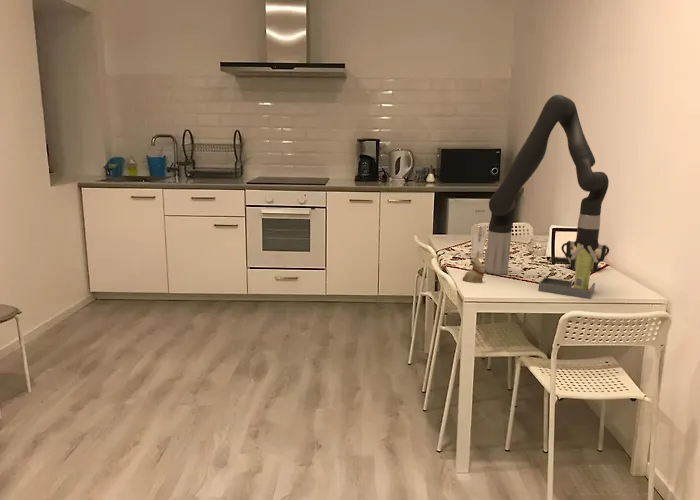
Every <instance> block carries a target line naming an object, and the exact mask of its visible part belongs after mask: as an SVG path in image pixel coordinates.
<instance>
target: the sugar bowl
mask: <svg viewBox="0 0 700 500" xmlns="http://www.w3.org/2000/svg"><path fill="white" fill-rule="evenodd" d="M565 246H567V242H565V243H563V244H562V245H561V251H562V253H563V255H564V256H565V258H566V259H567V260H568V262H569V263H570V265H571V259H570V258H569V257H566V251H565V249H564V248H565ZM575 252H576V246H575V245H574V244H573V246H572V247H571V254H572V255H573V254H574V253H575ZM595 252H596V254H597V257H598V258H600V257H601V252H602V251H600V248H599V247H598V248H597V249H596V250H595ZM609 253H610V247H609V246H607V248H606V253H605V257H607V256H608V254H609ZM575 259H576V257H575ZM594 262H595V261H594V259H593V263H592V268H591V271H593V265H594ZM600 263H601V262H598V265H599V264H600ZM575 269H576V262H575ZM575 269H574V270H575Z"/></svg>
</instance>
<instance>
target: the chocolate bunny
mask: <svg viewBox="0 0 700 500" xmlns="http://www.w3.org/2000/svg"><path fill="white" fill-rule="evenodd" d="M469 262H470V263H471V265H472V269H470V270H468V271H466V273H465V274H464V276H462V281H464V282H467V283H473V284H474V283H476V284H477V283H478V284H479V283H480V284H481V283H483V281H484V280H483V279H484V276H485V275H484V274H485V273H486V272H485V271H486V267H485V266H484V263H482V262H481V261H480V259H478V258H477V257H474V258H471V259H470V260H469Z"/></svg>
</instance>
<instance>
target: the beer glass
mask: <svg viewBox="0 0 700 500" xmlns="http://www.w3.org/2000/svg"><path fill="white" fill-rule="evenodd" d="M486 240H487V225H486V224H482V223H472V224H471V229H470V246H471V247H470V248H471V250H470V255H469V258H471V259H473V258H474V257H477V258H478V259H479V260H482V259H485V255H484V248H485V244H486Z"/></svg>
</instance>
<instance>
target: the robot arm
mask: <svg viewBox="0 0 700 500" xmlns="http://www.w3.org/2000/svg"><path fill="white" fill-rule="evenodd" d="M557 123H559V125H560V126H561V128H562V129H563V131H564V133H565V136H566V140H567V147H568V152H569V155H570V157H571V160H572V162H573V164H574V166H575V171H576V181H577V183H578V186H579V187H580V189H581V190H582V191H584V192H588V193H589V194H588V195H587V196H586V197H584V198H582V199H581V202H580V207H579V216H578V218H577V219H578V221H577V229H576V239H575V240H574V241H572V240H568V241H567V242H566V243H567V245H565V246H566V248H565V249H566V251H565V253H566V256H565V258H566V257H569V258H570V259H571V264H570V268H571V270H575V262H576V259H575V257H576V256H577V255H578V253H579V252H580V251H581V250H582V248H585V249H586V251H587V252H588V253H589V254H591V256H592V257H593V259H594V261H595V262H594V265H593V270H592V272H593V273H595V272H597V271H598V269H599V264H598V262H600V263H602V262H604V260H605V257H606V256H605V253H606V252H607V249H606V248H607V247H608V245H606V244H600V243H599V235H600V228H601V212H602V204H603V201H604V199H605V198H606V194H607V192H608V189H609V184H610V183H609V177H608V175H607V173H606V172H603V171H593V170H592V167H594V166H595V164H596V158H595V157H594V154H593V152H592V149H591V147H590V146H589V143H588V141H587V139H586V137H585V134H584V131H583V128H582V125H581V121H580V118H579V113H578V109H577V107H576V104H575V102H574V101H573V100H572V99H570V98H568V97H566V96H564V95H562V94H554V95H552V96H551V97H550V98H549V99H548V100H547V101H546V102H545V104H544V106H543V107H542V110H541V111H540V113H539V116H538V118H537V120H536V123H535V124H534V126H533V128H532V130H531V131H530V133H529V134H528V137H527V138H526V139H525V142H524V143H523V145H522V147H520V149H519V151H518V152H517V154H516V156H515V158H514V159H513V160H514V161H513V162H512V164H511V166H510V167H509V169H508V171H507V174H506V176H505V178H504V179H503V181H502V182H501V184H500V185H499V186H498V188H497V190H496V191H494V193H493V194H492V196H491V197H490V199H489V201H488V209H489V211H490V212H491V216H490V221H489V223H488V230H487V231H488V232H487V244H486V248H485V253H484V263H483V265H484V266H485V267H486V271H485V273H489V274H494V275H507V274H508V273H509V264H510V253H511V252H510V251H511V241H512V230H513V225H514V220H515V211H516V197H517V195H518V193H519V192H520V191H521V189H522V188H523V186H524V185H525V184H526V183H527V182H528V181H529V179H530V178H531V177H532V175H533V174H534V173H535V172H536V171H537V169H538V167H539V166H540V164H541V162H542V161H543V159H544V158H545V155H546V152H547V149H548V143H549V138H550V135H551V133H552V131H553V130H554V128H555V126H556V125H557ZM578 243H579V244H581V245H580V247H579V248H578V249H577V250H576V252H575V253H574V254H573V255H572V254H571V247H572V246H573V244H574V245H575V246H576V248H577V244H578ZM598 247H599V248H600V251H602V252H601V257H600V258H598V257H597V254H596V252H595V253H594V251H595V250H596V249H597V248H598ZM592 253H593V254H592Z"/></svg>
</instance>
